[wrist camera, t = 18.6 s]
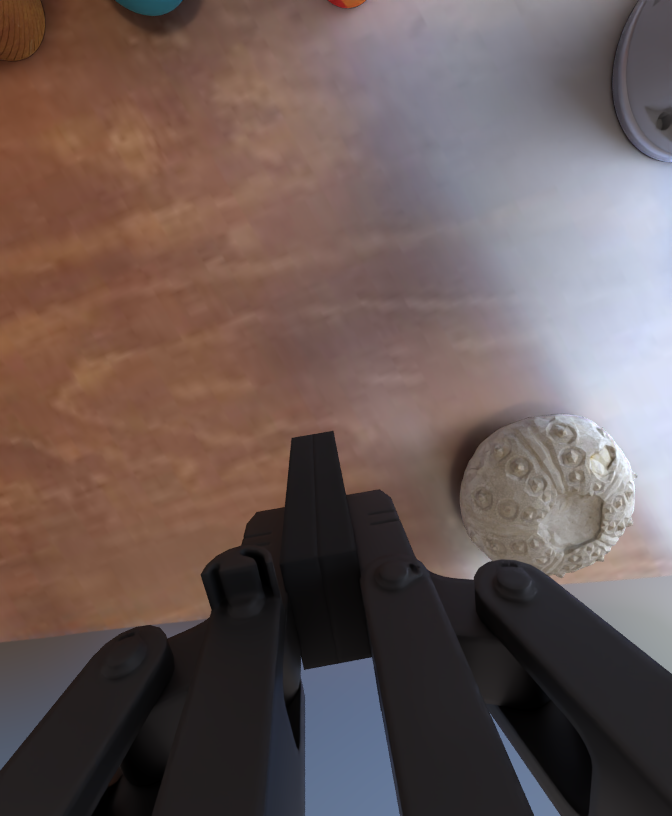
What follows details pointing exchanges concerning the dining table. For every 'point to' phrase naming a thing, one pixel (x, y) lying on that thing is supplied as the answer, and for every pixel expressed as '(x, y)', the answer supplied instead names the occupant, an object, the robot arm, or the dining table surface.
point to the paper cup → (347, 3)
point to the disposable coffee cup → (20, 28)
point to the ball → (150, 6)
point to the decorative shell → (548, 493)
